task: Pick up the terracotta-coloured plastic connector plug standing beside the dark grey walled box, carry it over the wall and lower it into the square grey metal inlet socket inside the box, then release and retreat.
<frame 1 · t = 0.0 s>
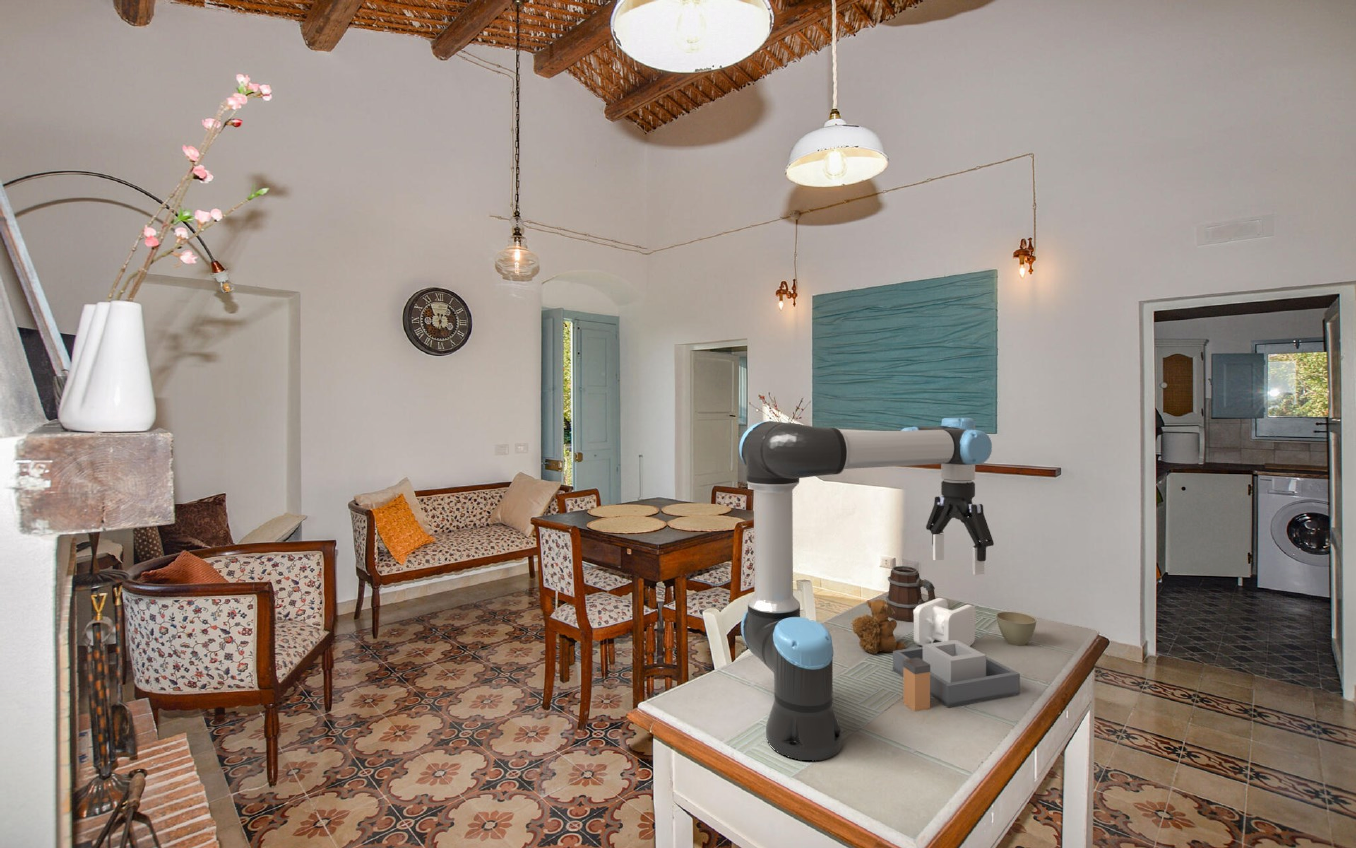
hand: (957, 566, 150), 28 cm above the table, fingers open, 13 cm apart
cable organizer: (943, 646, 171), on the table
stuffed squirrel: (876, 649, 170), on the table
plug: (916, 705, 138), on the table
mug: (911, 617, 194), on the table
beige bowl: (1015, 642, 173), on the table
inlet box: (953, 682, 149), on the table
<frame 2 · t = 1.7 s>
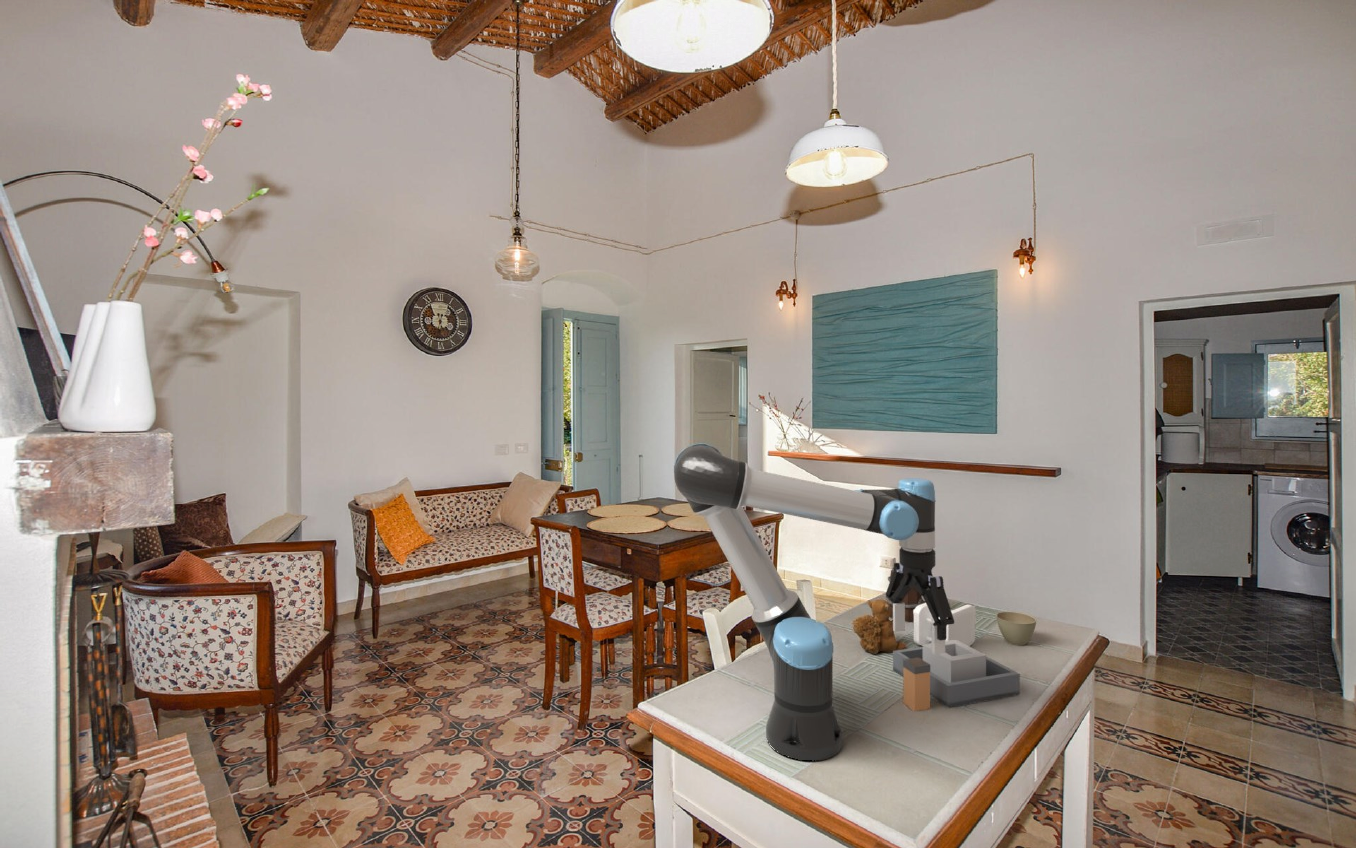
hand: (918, 641, 137), 15 cm above the table, fingers open, 13 cm apart
nothing on the table moved.
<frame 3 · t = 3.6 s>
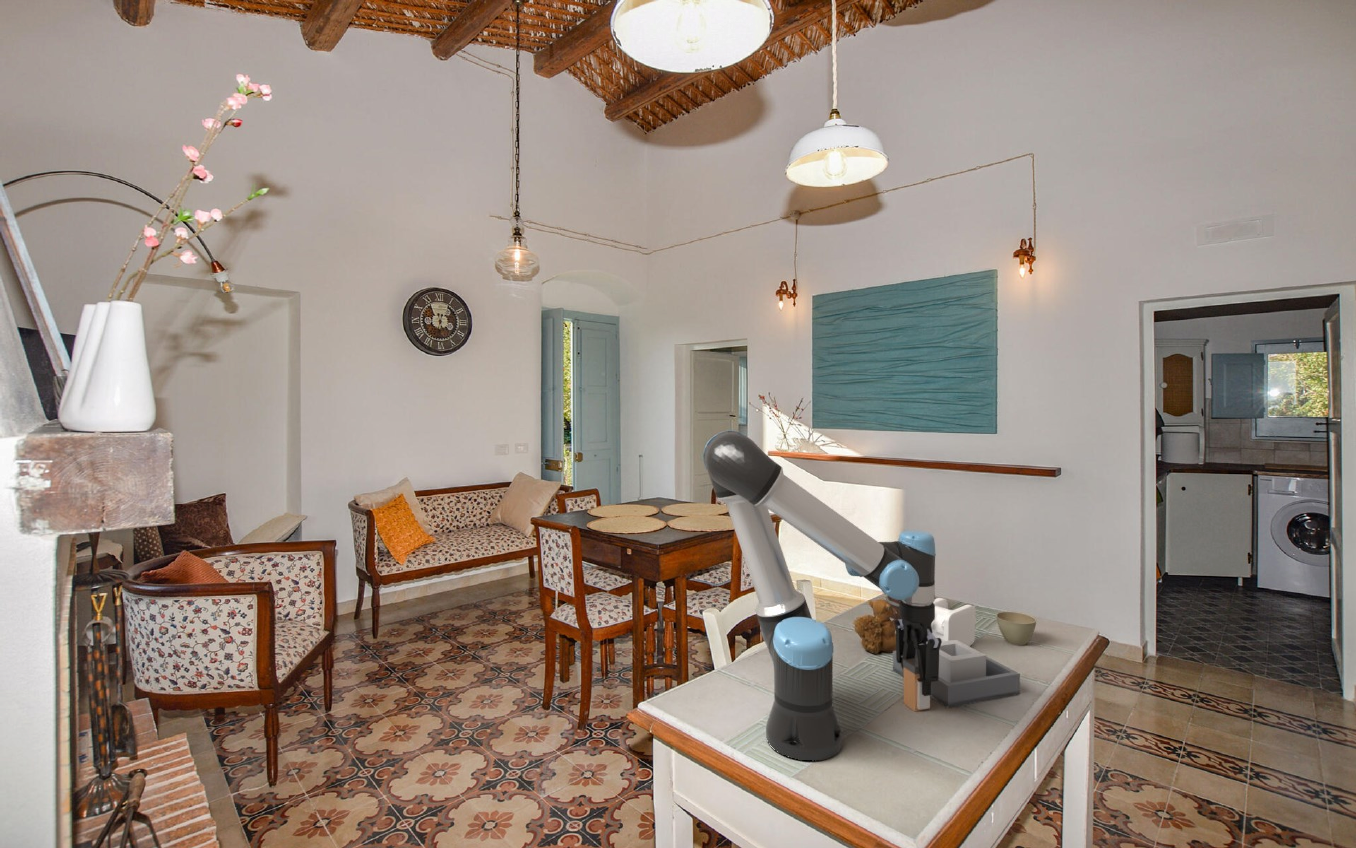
hand: (916, 702, 138), 1 cm above the table, fingers closed on plug, 4 cm apart
plug: (916, 705, 138), on the table, touching gripper
everything else where it was.
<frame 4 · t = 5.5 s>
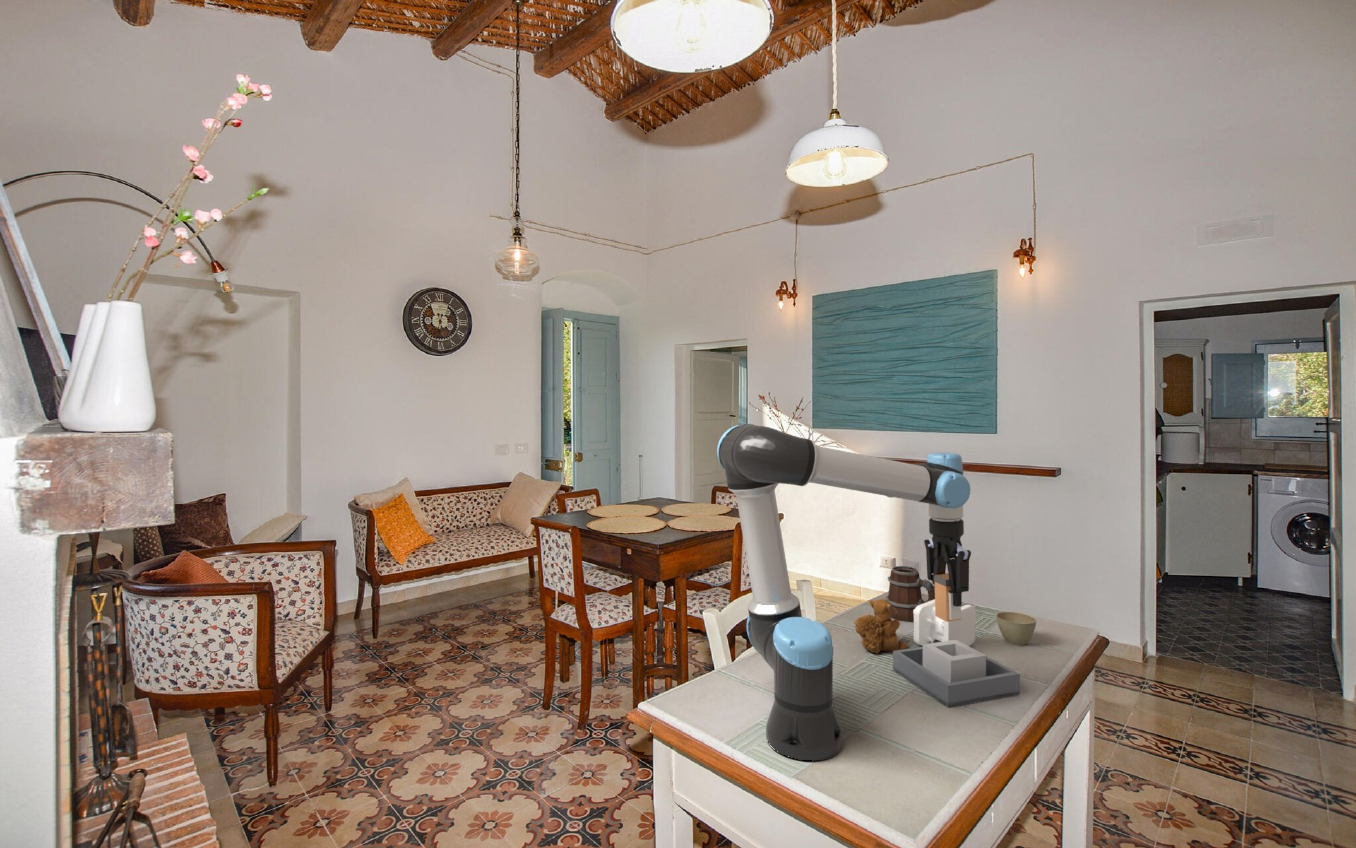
hand: (947, 615, 145), 18 cm above the table, fingers closed on plug, 4 cm apart
plug: (948, 617, 145), point 17 cm above the table, touching gripper
everything else where it was.
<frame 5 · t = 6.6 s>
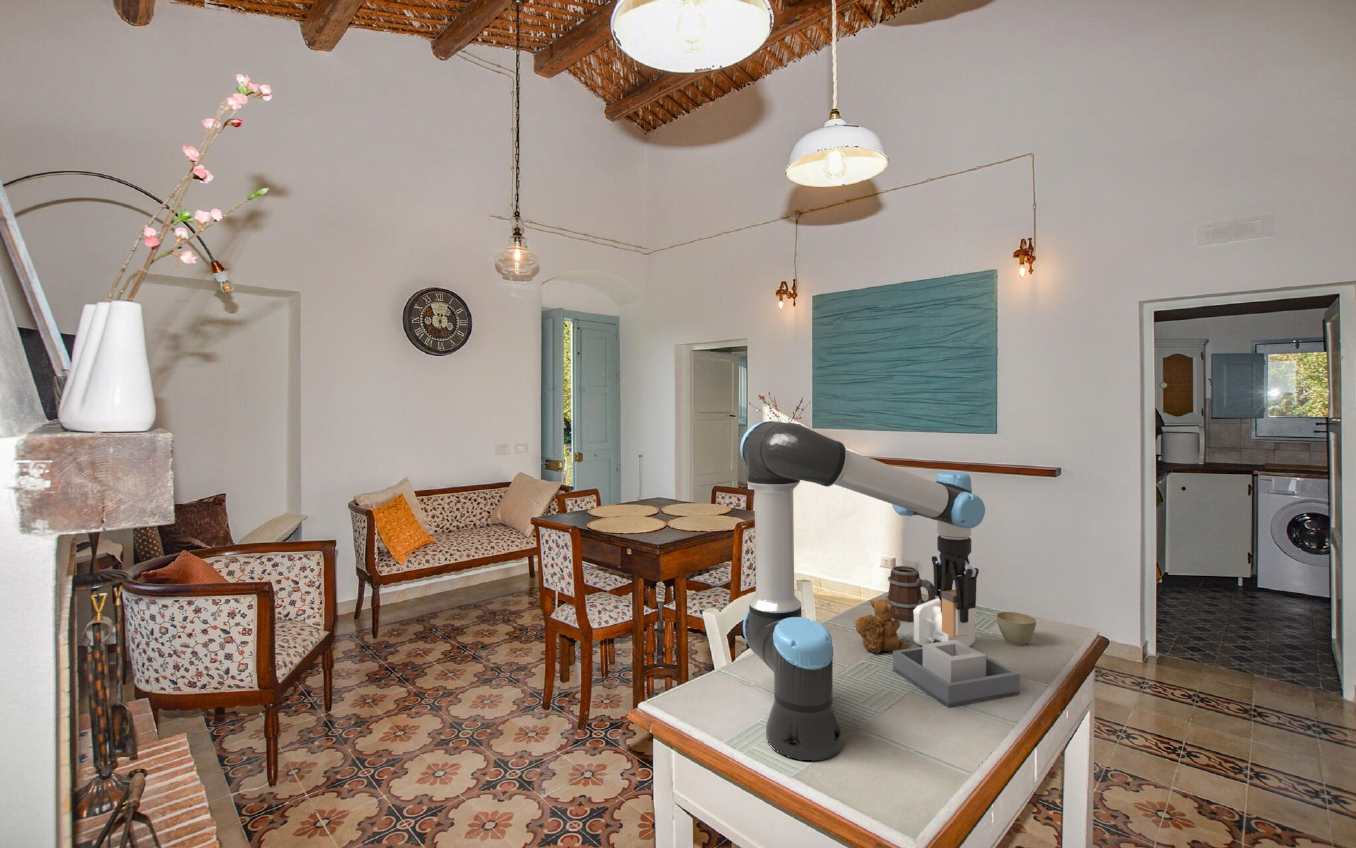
hand: (954, 630, 149), 13 cm above the table, fingers closed on plug, 4 cm apart
plug: (954, 633, 149), point 12 cm above the table, touching gripper
everything else where it was.
when the fingers open (9 cm above the table, at t = 7.4 s): plug drops 4 cm, resting on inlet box.
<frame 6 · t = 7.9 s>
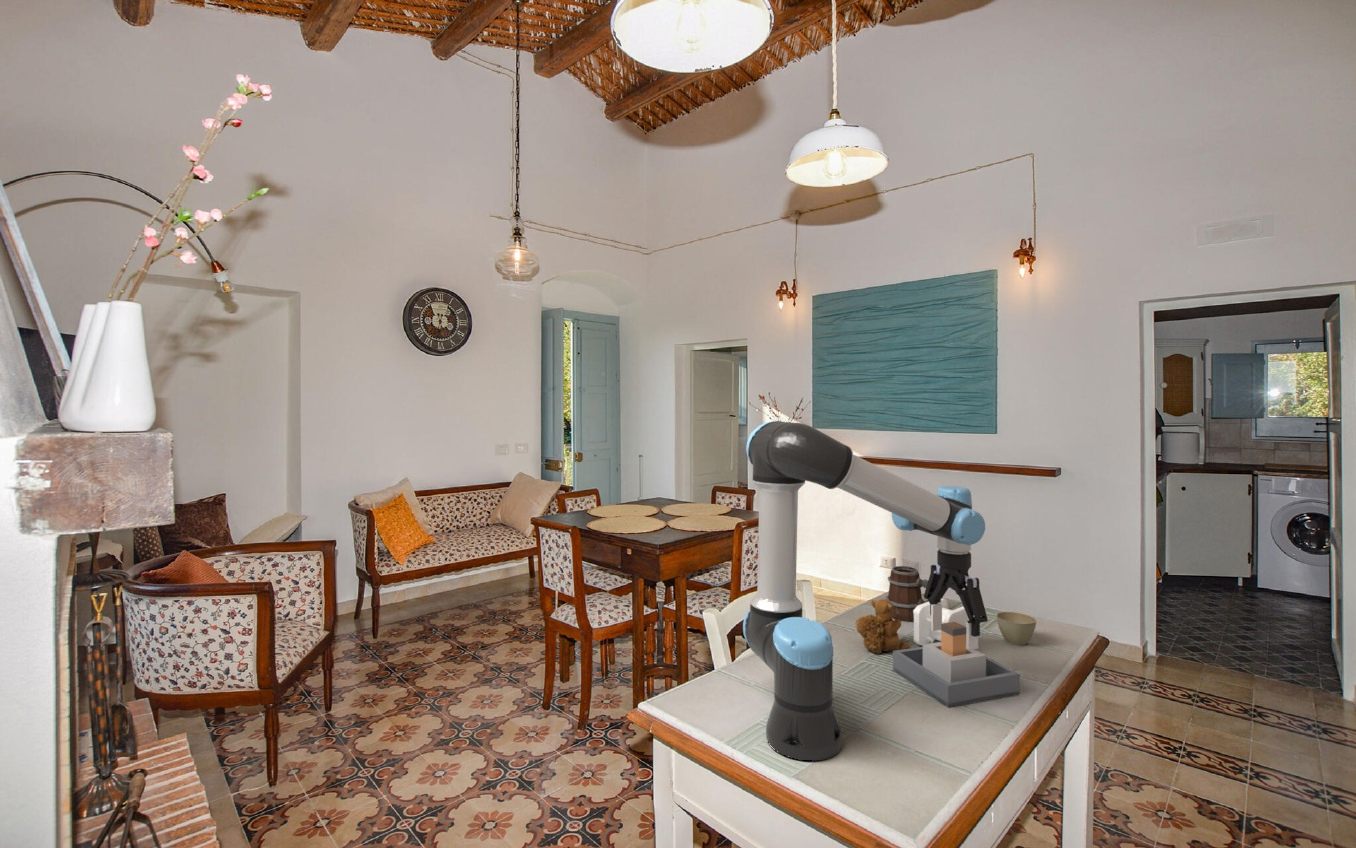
hand: (953, 639, 149), 11 cm above the table, fingers open, 11 cm apart
plug: (953, 666, 149), point 4 cm above the table, touching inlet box
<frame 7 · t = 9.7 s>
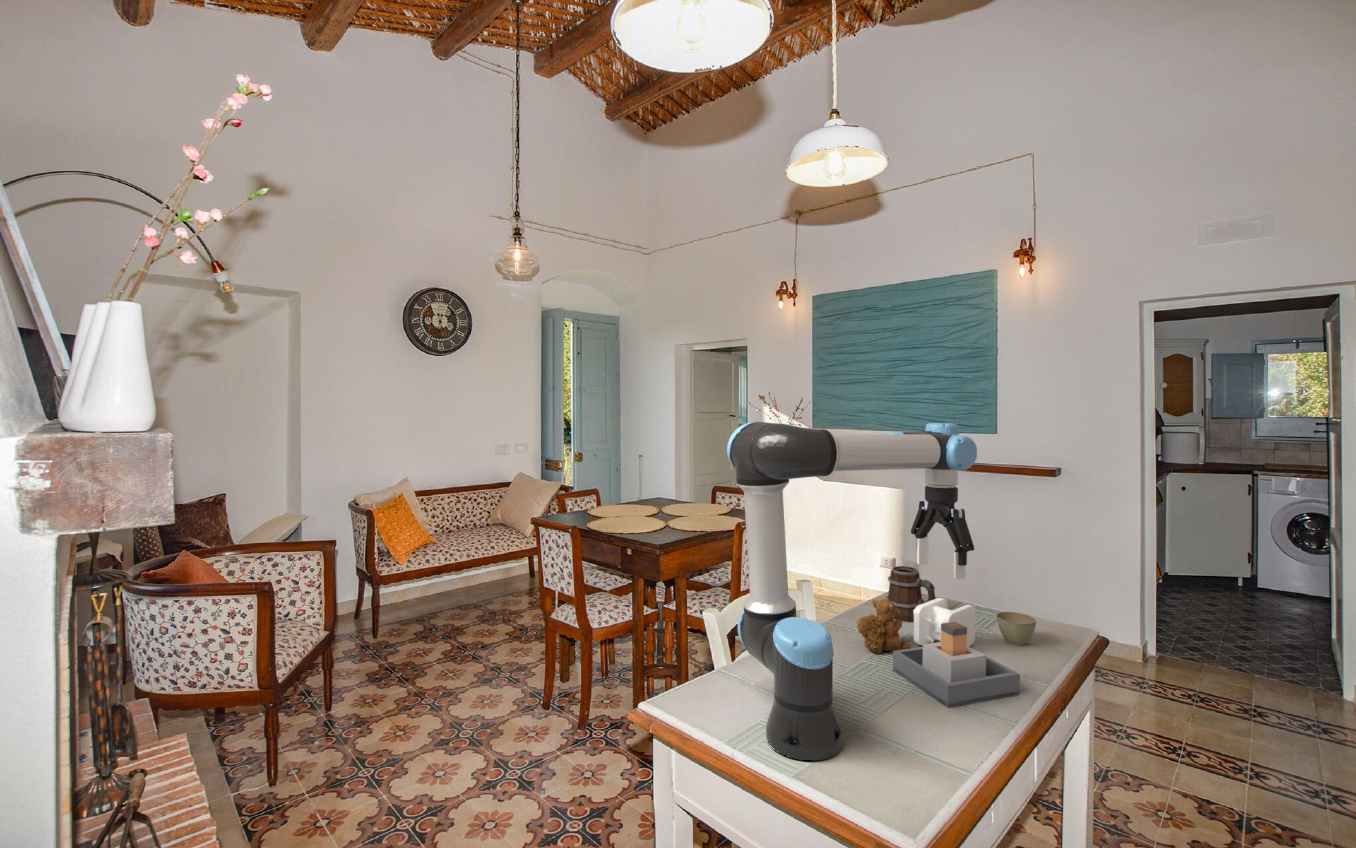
hand: (940, 570, 151), 27 cm above the table, fingers open, 13 cm apart
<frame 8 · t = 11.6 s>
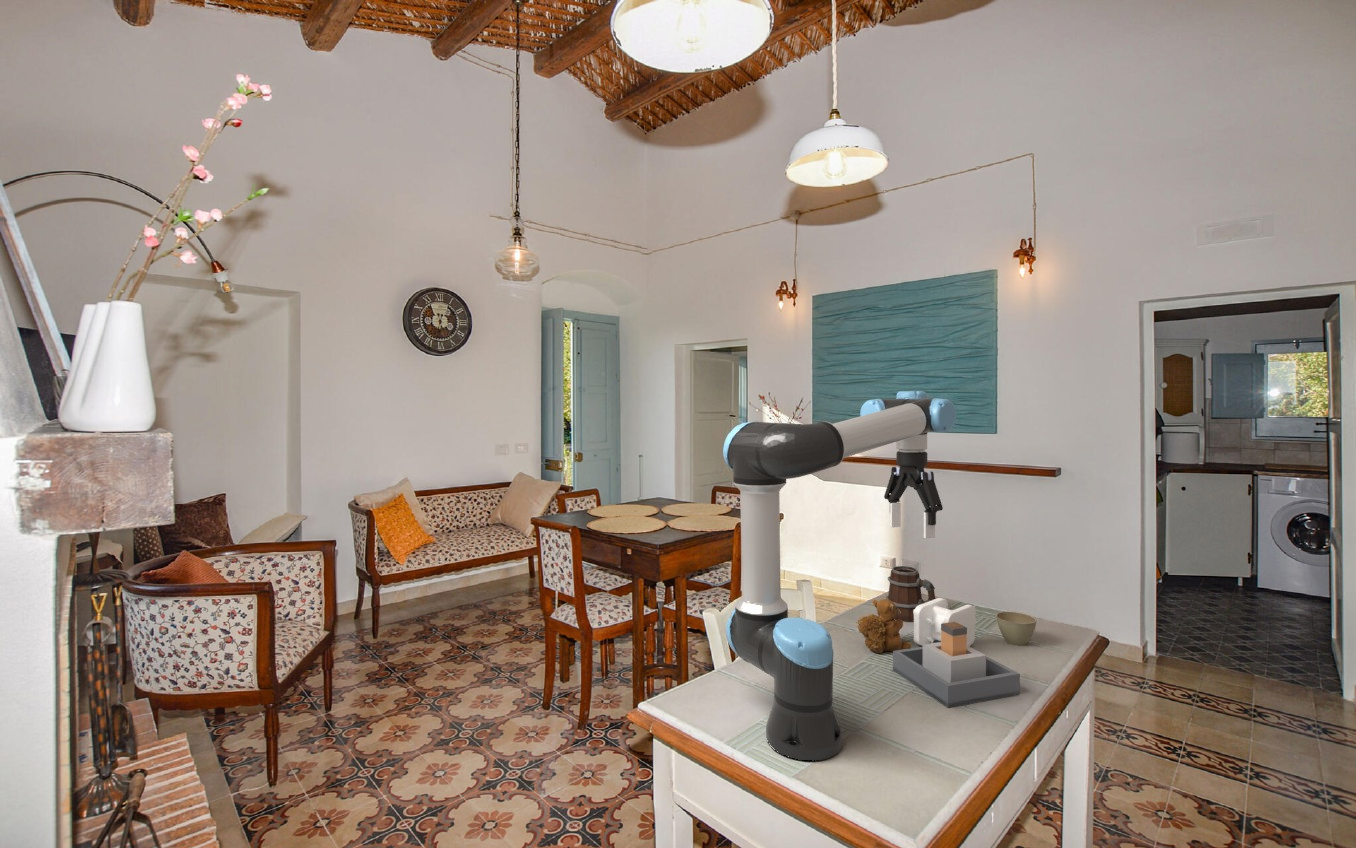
hand: (911, 532, 158), 35 cm above the table, fingers open, 13 cm apart
at the end: plug 0.0 cm off-centre on the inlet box, point 4.0 cm above the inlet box's base; plug tilted 0°; the gripper is holding nothing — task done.
